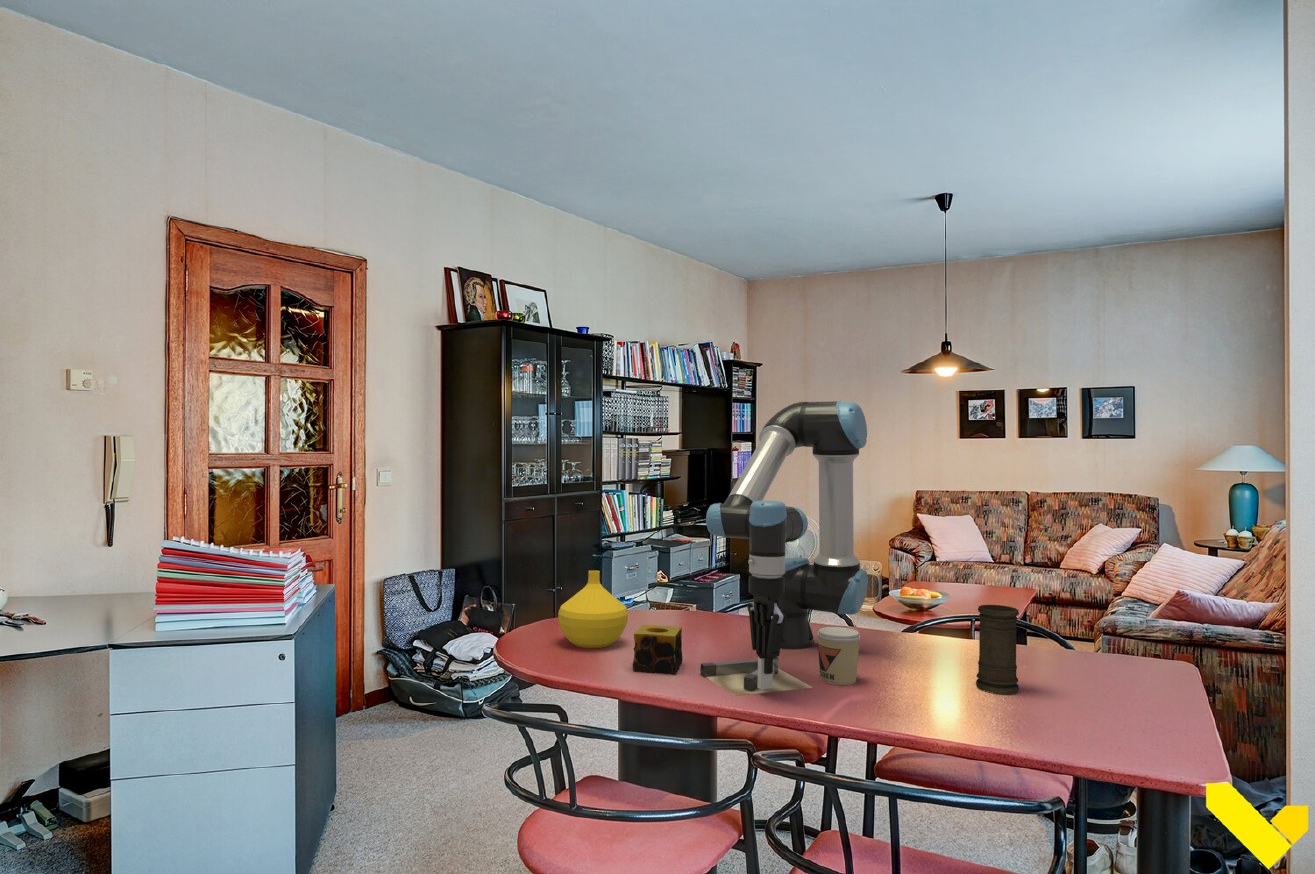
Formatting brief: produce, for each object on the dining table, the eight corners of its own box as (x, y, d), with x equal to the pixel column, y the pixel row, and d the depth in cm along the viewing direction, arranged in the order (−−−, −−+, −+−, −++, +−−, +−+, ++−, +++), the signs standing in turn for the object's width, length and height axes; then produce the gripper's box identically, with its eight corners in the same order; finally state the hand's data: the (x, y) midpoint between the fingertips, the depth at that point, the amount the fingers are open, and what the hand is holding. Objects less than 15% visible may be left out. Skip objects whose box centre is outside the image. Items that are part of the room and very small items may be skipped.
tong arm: (765, 668, 190) (765, 649, 190) (781, 670, 188) (782, 652, 188) (734, 687, 174) (734, 667, 174) (752, 690, 172) (752, 670, 172)
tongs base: (771, 668, 191) (771, 654, 191) (781, 673, 186) (782, 659, 186) (700, 674, 184) (700, 660, 184) (709, 680, 180) (709, 666, 180)
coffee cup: (808, 681, 185) (809, 628, 185) (842, 677, 189) (843, 625, 189) (832, 693, 176) (833, 637, 176) (868, 688, 180) (869, 634, 180)
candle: (675, 680, 184) (676, 636, 184) (631, 677, 186) (632, 633, 186) (683, 668, 194) (683, 626, 194) (641, 665, 196) (642, 623, 196)
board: (774, 671, 192) (774, 666, 192) (813, 693, 176) (813, 687, 176) (700, 678, 185) (700, 673, 185) (733, 701, 169) (733, 695, 169)
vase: (588, 632, 228) (590, 563, 228) (641, 642, 217) (642, 570, 217) (543, 644, 213) (544, 571, 213) (596, 656, 202) (598, 579, 202)
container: (1000, 697, 176) (1001, 613, 176) (966, 685, 184) (968, 605, 184) (1028, 691, 180) (1029, 610, 180) (994, 680, 188) (995, 602, 188)
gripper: (736, 570, 176) (734, 680, 176) (766, 581, 163) (764, 699, 163) (767, 569, 178) (765, 677, 178) (798, 579, 166) (796, 695, 166)
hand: (764, 687), depth 171 cm, fingers closed
